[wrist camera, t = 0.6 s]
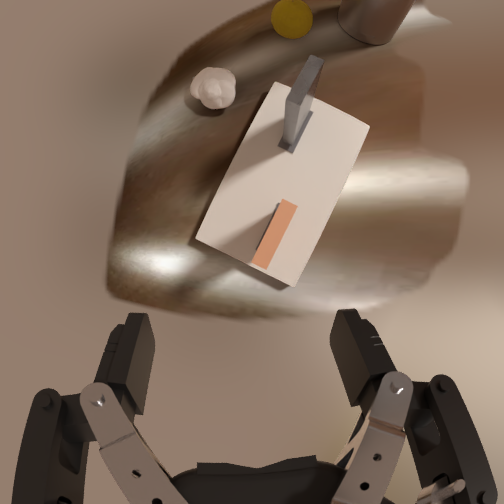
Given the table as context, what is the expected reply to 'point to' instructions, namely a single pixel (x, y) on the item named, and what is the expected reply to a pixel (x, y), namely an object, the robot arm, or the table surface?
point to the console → (283, 184)
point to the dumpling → (214, 87)
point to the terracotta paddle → (274, 234)
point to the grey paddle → (301, 99)
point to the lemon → (292, 18)
